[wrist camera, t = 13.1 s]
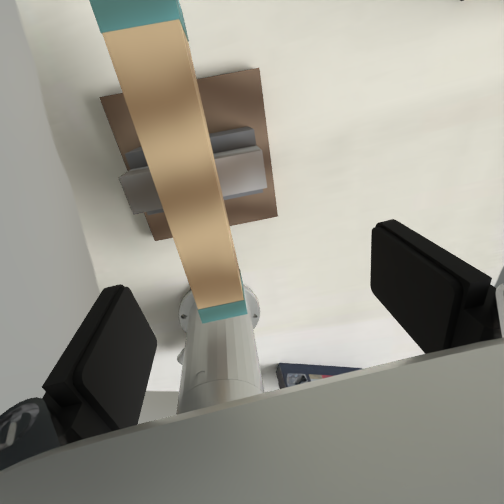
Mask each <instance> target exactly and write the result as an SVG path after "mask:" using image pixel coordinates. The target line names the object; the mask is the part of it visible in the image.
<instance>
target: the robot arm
mask: <svg viewBox="0 0 504 504" xmlns="http://www.w3.org/2000/svg"><path fill="white" fill-rule="evenodd" d="M491 279H492V278H491V277H490V276H488V275H486V274H485V273H483V272H481V271H480V270H478V269H476V268H475V267H473V266H471V265H470V264H468V263H466V262H465V261H463V260H461V259H460V258H458V257H456V256H455V255H453V254H451V253H450V252H448V251H446V250H445V249H443V248H441V247H440V246H438V245H436V244H435V243H433V242H431V241H430V240H428V239H426V238H425V237H423V236H421V235H420V234H418V233H416V232H415V231H413V230H411V229H410V228H408V227H406V226H405V225H403V224H401V223H400V222H398V221H396V220H394V219H393V220H388V221H384V222H380V223H377V224H376V227H375V228H373V229H372V242H371V290H372V292H373V294H374V295H375V296H376V297H377V298H378V300H379V301H380V302H381V303H382V304H383V305H384V306H385V308H386V309H387V310H388V311H389V312H390V313H391V315H392V316H393V317H394V318H395V319H396V320H397V321H398V323H399V324H400V325H401V326H402V327H403V328H404V330H405V331H406V332H407V333H408V334H409V335H410V336H411V338H412V339H413V340H414V341H415V342H416V343H417V344H418V346H419V347H420V348H421V349H422V350H423V351H424V353H425V354H423V355H419V356H415V357H411V358H407V359H402V360H398V361H394V362H390V363H386V364H381V365H377V366H373V367H369V368H365V369H361V370H356V371H352V372H348V373H344V374H340V375H336V376H331V377H327V378H323V379H319V380H315V381H311V382H307V383H303V384H299V385H295V386H291V387H286V388H282V389H278V390H274V391H270V392H266V393H264V387H263V381H262V376H261V370H260V364H259V359H258V353H257V347H256V341H255V336H254V330H253V329H254V328H255V327H256V325H257V323H258V321H259V317H260V307H259V302H258V300H257V298H256V296H255V294H254V293H253V292H252V291H251V290H250V289H249V288H248V287H246V286H245V285H243V288H244V294H245V300H246V307H247V313H248V314H246V315H241V316H236V317H232V318H227V319H222V320H217V321H213V322H208V323H203V324H202V321H201V319H200V316H199V313H198V308H197V305H196V302H195V299H194V296H193V293H192V290H190V291H189V292H188V293H187V294H186V295H185V296H184V298H183V300H182V302H181V305H180V308H179V321H180V324H181V327H182V328H183V330H184V331H185V332H186V333H187V335H186V342H185V348H184V349H183V350H182V351H181V353H180V354H179V355H178V356H177V360H178V362H179V363H180V364H182V365H183V366H182V374H181V381H180V389H179V397H178V405H177V413H176V415H174V416H170V417H166V418H162V419H158V420H154V421H150V422H146V423H142V424H138V419H139V416H140V412H141V407H142V404H143V400H144V396H145V392H146V388H147V384H148V380H149V376H150V372H151V368H152V364H153V360H154V356H155V351H156V347H157V340H156V337H155V335H154V333H153V331H152V329H151V328H150V326H149V324H148V322H147V320H146V318H145V316H144V314H143V313H142V311H141V309H140V307H139V305H138V303H137V301H136V300H135V298H134V296H133V294H132V292H131V290H130V289H129V288H128V287H124V286H123V285H121V284H120V285H116V286H112V287H107V288H104V289H103V291H102V292H101V294H100V295H99V297H98V299H97V300H96V302H95V303H94V305H93V306H92V308H91V310H90V312H89V313H88V314H87V316H86V318H85V319H84V321H83V322H82V324H81V326H80V327H79V329H78V330H77V332H76V333H75V335H74V337H73V338H72V340H71V341H70V343H69V345H68V346H67V348H66V350H65V351H64V353H63V354H62V356H61V357H60V359H59V361H58V362H57V364H56V365H55V367H54V368H53V370H52V372H51V373H50V375H49V377H48V378H47V380H46V381H45V383H44V384H43V386H42V388H43V389H44V390H45V391H46V393H45V395H44V396H43V398H37V397H36V398H30V399H27V400H24V401H22V402H19V403H18V404H16V405H14V406H13V407H11V408H9V409H8V410H7V411H6V412H4V413H3V414H2V415H0V504H504V284H501V285H500V286H498V287H497V288H495V287H494V286H492V285H490V283H491ZM137 424H138V425H137Z"/></svg>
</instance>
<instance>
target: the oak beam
mask: <svg viewBox="0 0 504 504" xmlns="http://www.w3.org/2000/svg"><path fill="white" fill-rule="evenodd" d="M90 3H91V6H92V9H93V12H94V15H95V18H96V21H97V23H98V26H99V29H100V32H101V33H102V34H103V37H104V40H105V43H106V46H107V48H108V51H109V54H110V57H111V60H112V63H113V66H114V69H115V71H116V74H117V77H118V80H119V83H120V86H121V89H122V92H123V94H124V97H125V100H126V103H127V106H128V109H129V112H130V115H131V118H132V120H133V123H134V126H135V129H136V132H137V135H138V138H139V141H140V143H141V146H142V149H143V152H144V155H145V158H146V161H147V164H148V167H149V169H150V172H151V175H152V178H153V181H154V184H155V187H156V190H157V192H158V195H159V198H160V201H161V204H162V207H163V210H164V213H165V216H166V218H167V221H168V224H169V227H170V230H171V233H172V236H173V239H174V241H175V244H176V247H177V250H178V253H179V256H180V259H181V262H182V265H183V267H184V270H185V273H186V276H187V279H188V282H189V285H190V288H191V290H192V293H193V296H194V299H195V302H196V305H197V308H198V313H199V316H200V319H201V321H202V324H203V323H208V322H213V321H217V320H222V319H227V318H232V317H236V316H241V315H246V314H248V313H247V307H246V300H245V294H244V288H243V282H242V277H241V273H240V269H239V266H238V262H237V257H236V253H235V248H234V244H233V239H232V235H231V230H230V226H229V222H228V217H227V213H226V208H225V204H224V199H223V195H222V190H221V186H220V182H219V177H218V173H217V168H216V164H215V159H214V155H213V150H212V146H211V142H210V137H209V133H208V128H207V124H206V119H205V115H204V110H203V106H202V102H201V97H200V93H199V88H198V84H197V79H196V75H195V70H194V66H193V62H192V57H191V53H190V48H189V44H188V41H189V40H188V36H187V31H186V27H185V22H184V18H183V14H182V10H181V7H180V4H179V1H178V0H90Z"/></svg>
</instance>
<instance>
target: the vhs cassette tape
mask: <svg viewBox="0 0 504 504" xmlns="http://www.w3.org/2000/svg"><path fill="white" fill-rule="evenodd" d="M361 369H362V368H350V367H336V366H321V365H306V364H290V363H280V364H279V366H278V368H277V371H276V373H277V374H276V375H277V378H278V381H279V387H280V389H282V388H286V387H291V386H295V385H299V384H303V383H307V382H311V381H315V380H319V379H323V378H327V377H331V376H336V375H340V374H344V373H348V372H352V371H356V370H361Z"/></svg>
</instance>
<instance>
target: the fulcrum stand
mask: <svg viewBox="0 0 504 504" xmlns="http://www.w3.org/2000/svg"><path fill="white" fill-rule="evenodd" d="M197 84H198V88H199V93H200V97H201V102H202V106H203V110H204V115H205V119H206V124H207V128H208V133H209V137H210V142H211V146H212V150H213V155H214V159H215V164H216V168H217V173H218V177H219V182H220V186H221V190H222V195H223V199H224V204H225V208H226V213H227V217H228V222H229V226H232V225H237V224H242V223H247V222H252V221H257V220H262V219H267V218H272V217H277V216H278V214H277V206H276V198H275V190H274V182H273V174H272V166H271V158H270V150H269V142H268V134H267V126H266V118H265V110H264V102H263V94H262V86H261V78H260V70H259V68H256V69H250V70H245V71H239V72H234V73H229V74H223V75H218V76H212V77H207V78H202V79H197ZM99 98H100V100H101V103H102V105H103V108H104V111H105V113H106V116H107V118H108V121H109V124H110V126H111V129H112V131H113V134H114V136H115V139H116V142H117V144H118V147H119V149H120V152H121V155H122V157H123V160H124V162H125V165H126V167H127V170H128V172H126V173H125V174H123V175H122V176H121V177H119V180H120V183H121V185H122V188H123V190H124V193H125V195H126V198H127V200H128V202H129V205H130V207H131V210H132V212H133V214H138V213H143V212H144V214H145V217H146V219H147V222H148V224H149V227H150V230H151V232H152V235H153V237H154V240H155V241H158V240H163V239H168V238H173V236H172V233H171V230H170V227H169V224H168V221H167V218H166V216H165V213H164V210H163V207H162V204H161V201H160V198H159V195H158V192H157V190H156V187H155V184H154V181H153V178H152V175H151V172H150V169H149V167H148V164H147V161H146V158H145V155H144V152H143V149H142V146H141V143H140V141H139V138H138V135H137V132H136V129H135V126H134V123H133V120H132V118H131V115H130V112H129V109H128V106H127V103H126V100H125V97H124V94H123V93H120V94H115V95H110V96H104V97H99Z"/></svg>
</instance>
